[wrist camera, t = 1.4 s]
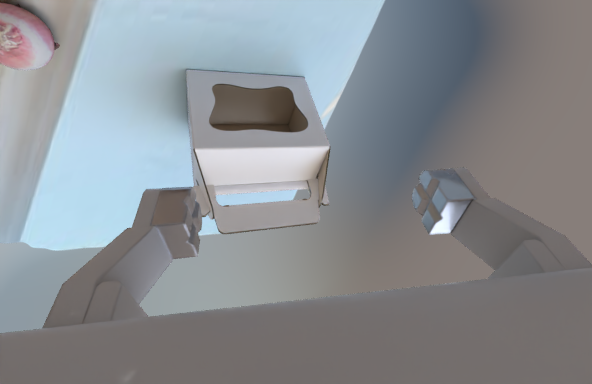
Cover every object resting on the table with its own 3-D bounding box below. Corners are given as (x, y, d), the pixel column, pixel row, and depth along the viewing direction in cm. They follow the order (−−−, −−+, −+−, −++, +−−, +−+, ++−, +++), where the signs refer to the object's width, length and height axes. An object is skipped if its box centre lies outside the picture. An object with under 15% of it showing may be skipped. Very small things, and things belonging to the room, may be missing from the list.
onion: (46, -2, 38) (37, 32, 34) (67, 53, 44) (61, 86, 41) (-38, -14, 35) (-58, 22, 32) (-3, 47, 41) (-16, 82, 38)
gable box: (187, 123, 61) (198, 253, 48) (184, 68, 50) (197, 215, 37) (289, 124, 69) (323, 236, 56) (306, 76, 58) (352, 201, 45)
